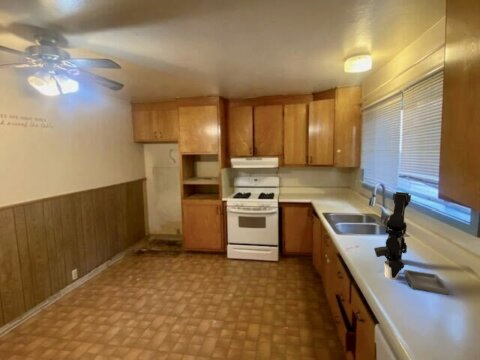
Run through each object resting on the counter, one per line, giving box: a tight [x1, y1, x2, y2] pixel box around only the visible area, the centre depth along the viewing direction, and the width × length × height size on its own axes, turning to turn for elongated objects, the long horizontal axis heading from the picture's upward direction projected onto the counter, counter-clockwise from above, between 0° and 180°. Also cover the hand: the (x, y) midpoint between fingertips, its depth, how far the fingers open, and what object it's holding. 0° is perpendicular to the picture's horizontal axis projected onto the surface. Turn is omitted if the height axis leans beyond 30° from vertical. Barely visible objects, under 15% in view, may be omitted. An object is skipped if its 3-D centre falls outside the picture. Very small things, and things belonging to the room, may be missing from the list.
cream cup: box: [384, 260, 399, 280], centre depth 138 cm, size 7×7×7 cm
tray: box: [403, 269, 450, 295], centre depth 132 cm, size 16×14×2 cm
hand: (391, 273), depth 138 cm, fingers open, 9 cm apart
